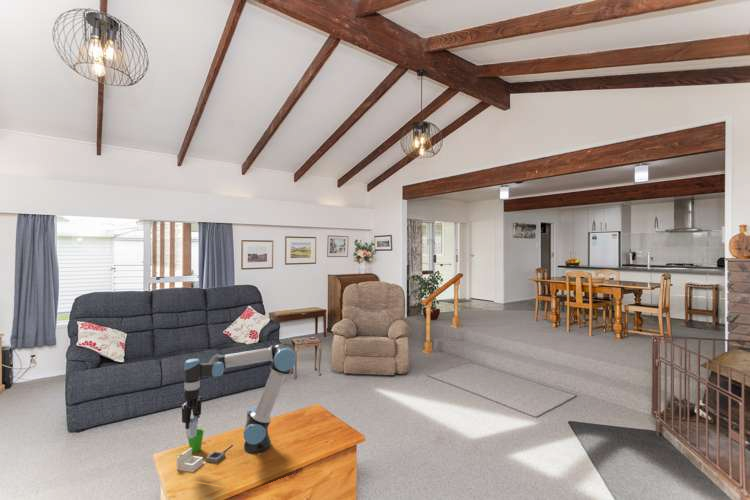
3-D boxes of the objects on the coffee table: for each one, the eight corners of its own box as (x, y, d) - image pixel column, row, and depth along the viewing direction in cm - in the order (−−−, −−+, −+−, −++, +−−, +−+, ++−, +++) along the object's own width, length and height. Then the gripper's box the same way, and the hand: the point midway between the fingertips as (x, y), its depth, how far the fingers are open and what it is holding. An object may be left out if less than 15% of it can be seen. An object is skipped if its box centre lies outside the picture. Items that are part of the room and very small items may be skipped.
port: (205, 463, 207) (205, 449, 207) (192, 473, 197) (192, 458, 198) (190, 460, 210) (190, 446, 210) (176, 470, 200) (176, 456, 200)
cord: (233, 446, 225) (233, 444, 225) (220, 456, 214) (220, 454, 214) (232, 446, 225) (232, 444, 225) (219, 456, 214) (219, 454, 214)
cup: (197, 456, 214) (197, 436, 214) (183, 454, 216) (183, 435, 216) (207, 448, 223) (207, 429, 223) (193, 446, 224) (193, 428, 225)
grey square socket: (224, 457, 213) (224, 452, 213) (216, 464, 206) (216, 459, 206) (214, 455, 215) (214, 451, 215) (205, 462, 208) (205, 457, 208)
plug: (197, 435, 205) (197, 415, 205) (192, 438, 201) (192, 418, 202) (191, 434, 206) (191, 414, 206) (185, 437, 202) (186, 417, 203)
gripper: (197, 382, 213) (197, 424, 213) (174, 393, 197) (173, 438, 197) (208, 384, 211) (208, 426, 211) (186, 394, 195) (185, 440, 195)
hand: (191, 432), depth 204 cm, fingers closed on plug, 4 cm apart
